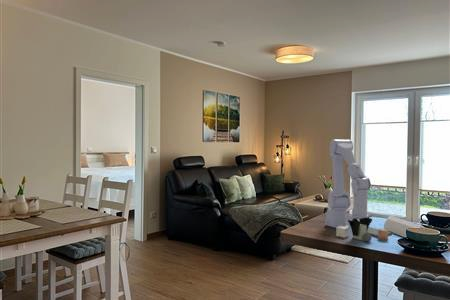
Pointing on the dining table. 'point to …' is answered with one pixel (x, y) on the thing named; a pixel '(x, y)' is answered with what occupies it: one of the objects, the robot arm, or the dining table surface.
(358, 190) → the robot arm
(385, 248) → the dining table surface
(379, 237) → the tan sphere
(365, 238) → the rubber ball
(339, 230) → the off-white cube
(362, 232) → the sage block
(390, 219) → the crystal
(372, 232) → the slate board
